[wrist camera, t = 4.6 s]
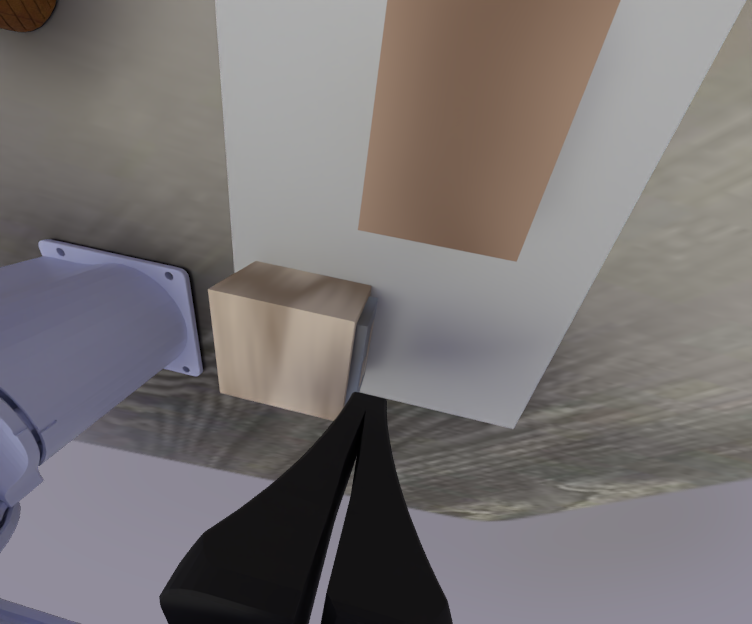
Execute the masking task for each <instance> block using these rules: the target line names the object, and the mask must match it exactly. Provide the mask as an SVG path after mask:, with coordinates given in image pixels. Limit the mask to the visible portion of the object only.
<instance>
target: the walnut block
mask: <svg viewBox="0 0 752 624" xmlns="http://www.w3.org/2000/svg"><path fill="white" fill-rule="evenodd" d="M620 1H621V0H387V6H386V14H385V22H384V30H383V37H382V45H381V53H380V61H379V69H378V77H377V84H376V92H375V100H374V108H373V116H372V123H371V131H370V139H369V147H368V155H367V163H366V170H365V178H364V186H363V194H362V202H361V209H360V217H359V225H358V230H360V231H365V232H370V233H375V234H380V235H385V236H390V237H395V238H400V239H405V240H410V241H415V242H420V243H425V244H430V245H435V246H440V247H445V248H450V249H455V250H460V251H465V252H470V253H475V254H480V255H485V256H490V257H495V258H500V259H505V260H510V261H515V262H517V260H518V257H519V255H520V252H521V249H522V247H523V244H524V242H525V239H526V237H527V234H528V232H529V229H530V227H531V224H532V222H533V219H534V217H535V214H536V212H537V209H538V207H539V204H540V202H541V199H542V197H543V194H544V192H545V189H546V187H547V184H548V182H549V179H550V177H551V174H552V172H553V169H554V167H555V164H556V162H557V159H558V157H559V154H560V151H561V149H562V146H563V144H564V141H565V139H566V136H567V134H568V131H569V129H570V126H571V124H572V121H573V119H574V116H575V114H576V111H577V109H578V106H579V104H580V101H581V99H582V96H583V94H584V91H585V89H586V86H587V84H588V81H589V79H590V76H591V74H592V71H593V69H594V66H595V64H596V61H597V59H598V56H599V54H600V51H601V48H602V46H603V43H604V41H605V38H606V36H607V33H608V31H609V28H610V26H611V23H612V21H613V18H614V16H615V13H616V11H617V8H618V6H619V3H620Z"/></svg>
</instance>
